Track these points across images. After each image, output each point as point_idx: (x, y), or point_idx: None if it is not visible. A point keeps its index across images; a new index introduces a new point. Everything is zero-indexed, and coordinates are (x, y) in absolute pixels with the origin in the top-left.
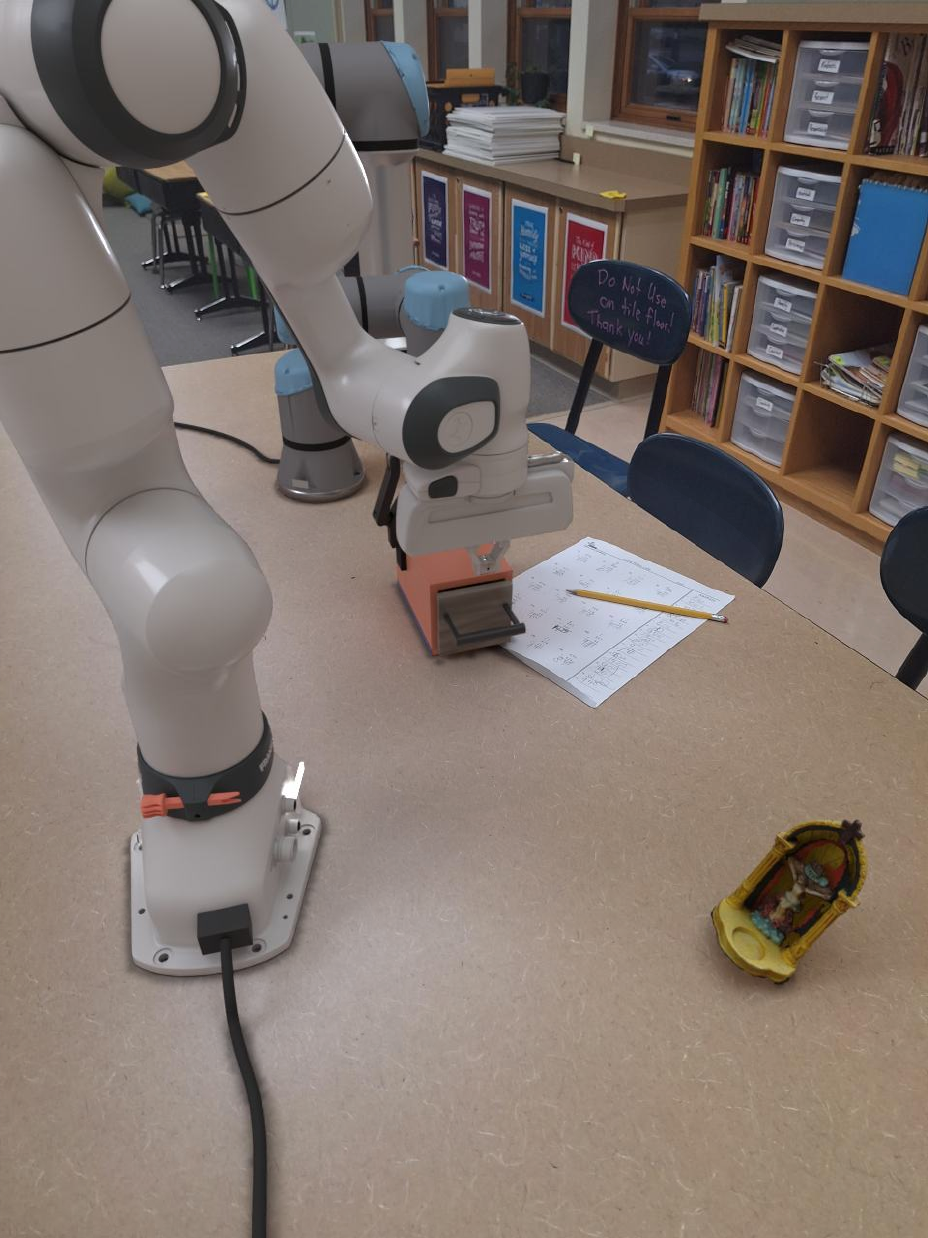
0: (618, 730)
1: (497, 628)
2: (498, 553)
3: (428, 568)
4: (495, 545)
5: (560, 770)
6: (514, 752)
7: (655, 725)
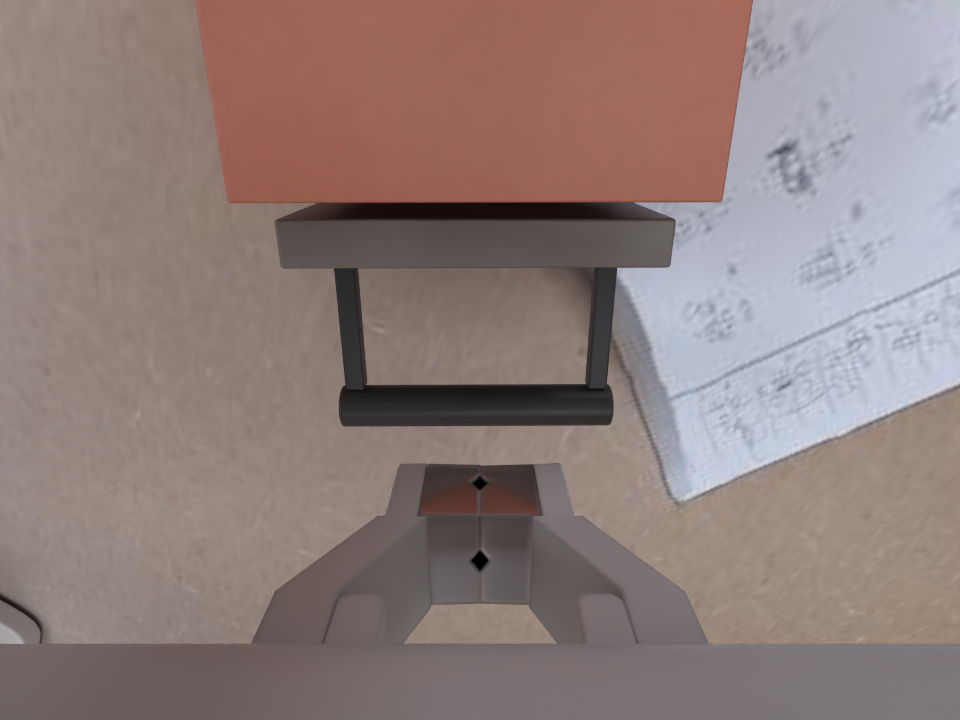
0: (685, 571)
1: (506, 414)
2: (563, 643)
3: (243, 7)
4: (582, 580)
5: (517, 626)
6: None
7: (766, 579)
